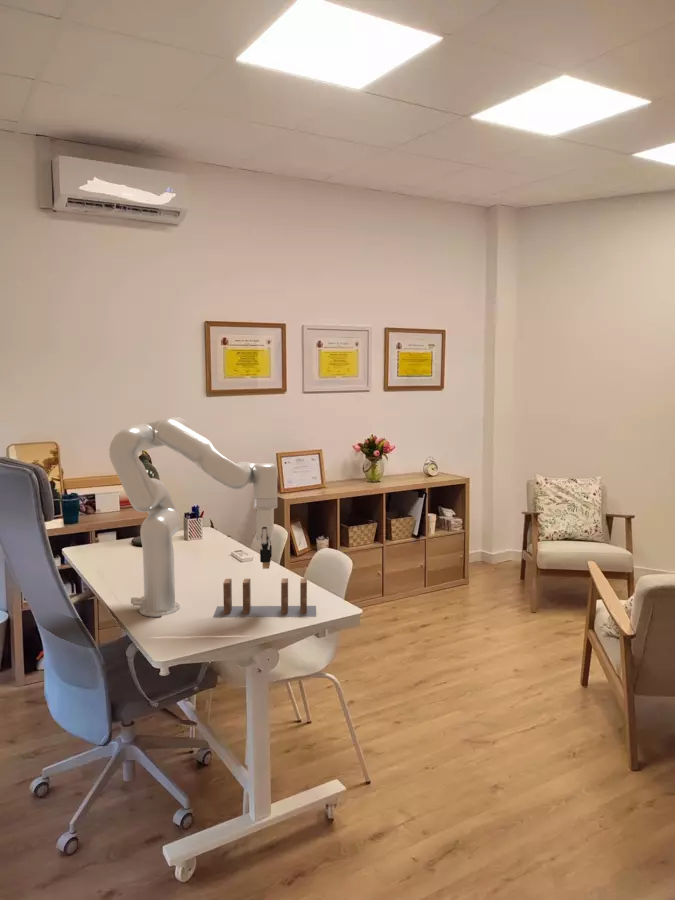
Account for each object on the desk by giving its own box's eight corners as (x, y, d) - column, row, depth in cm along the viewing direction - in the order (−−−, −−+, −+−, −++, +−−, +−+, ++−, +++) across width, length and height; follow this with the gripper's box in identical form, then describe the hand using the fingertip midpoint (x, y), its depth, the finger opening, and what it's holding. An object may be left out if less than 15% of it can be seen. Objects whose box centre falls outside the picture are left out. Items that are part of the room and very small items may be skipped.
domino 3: (262, 568, 215) (262, 537, 214) (263, 564, 220) (263, 533, 219) (269, 568, 215) (268, 537, 214) (269, 564, 220) (269, 533, 219)
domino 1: (223, 614, 216) (223, 583, 215) (225, 609, 221) (225, 578, 220) (230, 614, 216) (229, 583, 215) (231, 609, 221) (231, 578, 220)
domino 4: (281, 613, 217) (281, 582, 216) (281, 608, 222) (281, 578, 220) (287, 613, 217) (287, 582, 216) (288, 608, 222) (288, 578, 221)
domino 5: (300, 613, 217) (300, 582, 216) (300, 608, 222) (300, 578, 221) (306, 613, 217) (306, 582, 216) (306, 608, 222) (306, 578, 221)
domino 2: (242, 613, 217) (242, 583, 215) (244, 608, 221) (244, 578, 220) (249, 613, 217) (249, 582, 216) (250, 608, 221) (250, 578, 220)
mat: (212, 618, 214) (212, 617, 214) (217, 607, 224) (217, 606, 224) (316, 617, 215) (316, 616, 215) (316, 606, 225) (316, 605, 225)
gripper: (255, 497, 224) (256, 552, 226) (250, 508, 207) (251, 567, 209) (278, 497, 224) (279, 552, 226) (276, 507, 207) (276, 567, 209)
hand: (266, 559), depth 217 cm, fingers closed on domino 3, 4 cm apart
